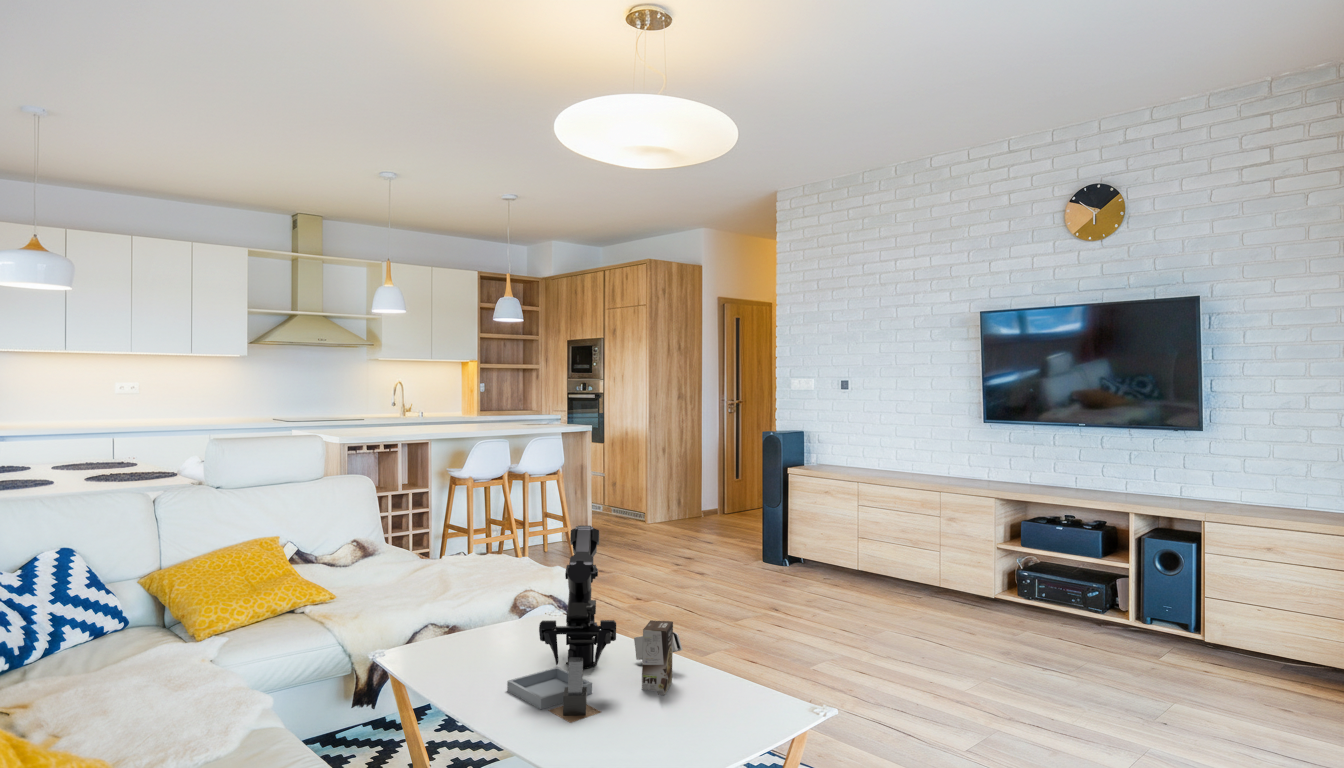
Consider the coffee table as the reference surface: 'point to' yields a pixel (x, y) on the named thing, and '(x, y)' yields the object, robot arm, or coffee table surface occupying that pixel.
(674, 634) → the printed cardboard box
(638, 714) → the coffee table surface
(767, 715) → the coffee table surface
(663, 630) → the coffee box
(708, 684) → the coffee table surface
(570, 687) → the strut
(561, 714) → the stud mount
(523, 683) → the bin
